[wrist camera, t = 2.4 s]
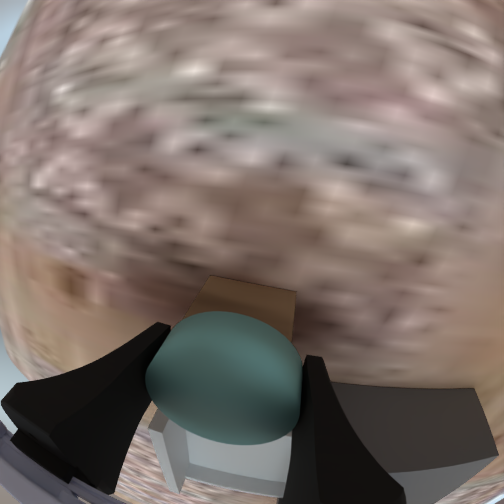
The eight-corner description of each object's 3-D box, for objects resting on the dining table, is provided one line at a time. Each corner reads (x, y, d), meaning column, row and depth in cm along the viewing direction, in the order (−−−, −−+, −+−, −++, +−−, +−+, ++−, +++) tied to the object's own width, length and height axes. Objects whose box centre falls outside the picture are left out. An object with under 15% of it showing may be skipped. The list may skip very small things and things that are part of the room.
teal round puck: (287, 418, 12) (282, 454, 10) (170, 392, 13) (154, 423, 11) (318, 328, 10) (319, 370, 8) (161, 295, 10) (135, 328, 8)
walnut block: (281, 355, 15) (272, 406, 12) (207, 339, 15) (185, 386, 12) (296, 291, 13) (291, 341, 10) (210, 275, 14) (182, 318, 10)
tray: (296, 480, 19) (291, 516, 16) (183, 457, 20) (170, 491, 17) (341, 412, 14) (342, 467, 11) (172, 380, 16) (147, 428, 12)
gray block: (389, 477, 20) (392, 526, 14) (281, 473, 21) (272, 527, 16) (474, 388, 14) (498, 455, 9) (328, 381, 15) (327, 472, 10)
